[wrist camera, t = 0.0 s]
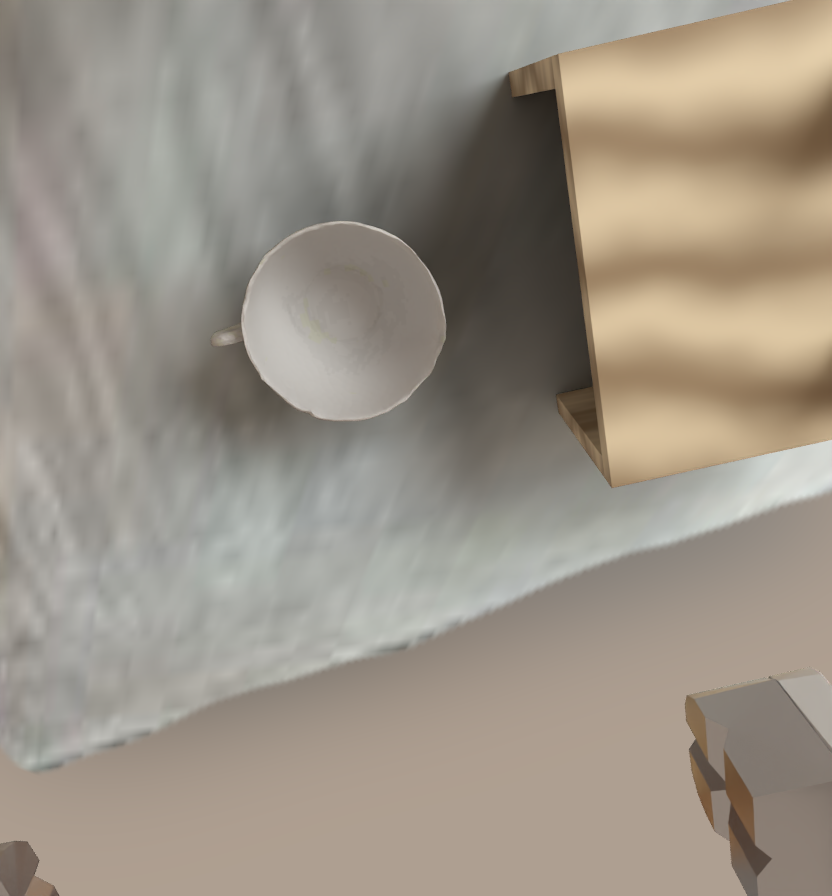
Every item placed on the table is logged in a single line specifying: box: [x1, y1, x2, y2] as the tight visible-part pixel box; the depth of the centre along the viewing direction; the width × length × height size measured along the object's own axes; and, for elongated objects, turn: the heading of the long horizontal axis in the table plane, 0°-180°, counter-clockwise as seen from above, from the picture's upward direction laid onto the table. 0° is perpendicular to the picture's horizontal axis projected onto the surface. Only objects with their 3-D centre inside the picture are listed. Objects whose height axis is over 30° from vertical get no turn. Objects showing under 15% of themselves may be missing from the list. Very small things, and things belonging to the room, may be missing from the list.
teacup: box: [211, 221, 446, 421], centre depth 51 cm, size 15×12×8 cm
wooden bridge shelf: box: [509, 0, 832, 488], centre depth 48 cm, size 24×20×14 cm
